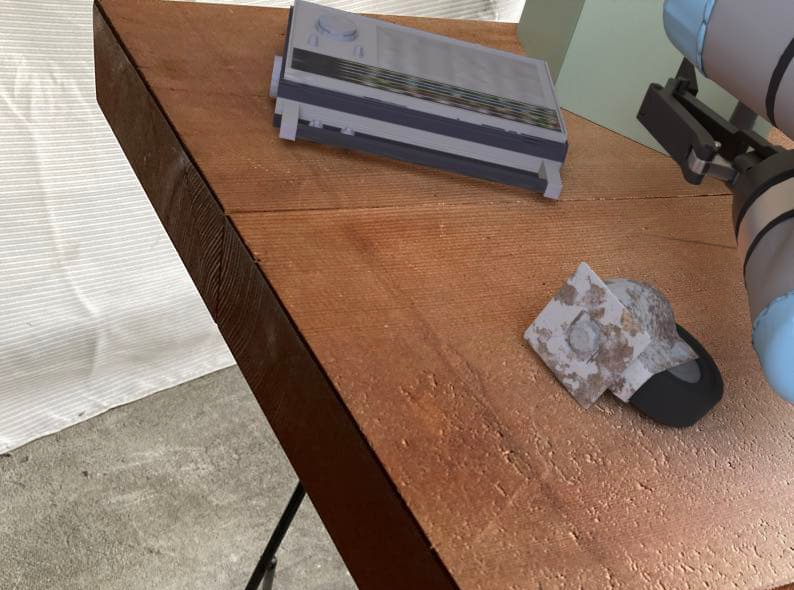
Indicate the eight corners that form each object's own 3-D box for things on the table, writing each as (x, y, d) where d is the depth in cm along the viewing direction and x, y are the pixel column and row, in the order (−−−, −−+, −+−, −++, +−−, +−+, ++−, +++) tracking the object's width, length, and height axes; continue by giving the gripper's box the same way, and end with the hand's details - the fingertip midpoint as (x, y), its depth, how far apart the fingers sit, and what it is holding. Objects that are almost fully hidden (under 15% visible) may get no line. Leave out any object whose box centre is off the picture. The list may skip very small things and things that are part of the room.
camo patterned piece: (696, 433, 69) (625, 467, 62) (595, 316, 71) (517, 336, 65) (766, 369, 64) (698, 398, 57) (656, 246, 67) (578, 260, 60)
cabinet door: (724, 216, 87) (866, -49, 72) (524, 124, 90) (619, -150, 75) (741, 184, 93) (877, -68, 77) (551, 99, 96) (645, -161, 80)
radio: (550, 51, 90) (582, 155, 76) (531, 107, 94) (558, 216, 80) (286, -16, 85) (270, 82, 72) (276, 46, 89) (260, 150, 76)
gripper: (589, 224, 64) (593, 101, 79) (944, 334, 65) (882, 192, 80) (636, 111, 59) (631, 2, 74) (1022, 234, 60) (940, 102, 75)
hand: (762, 101), depth 77 cm, fingers open, 13 cm apart
